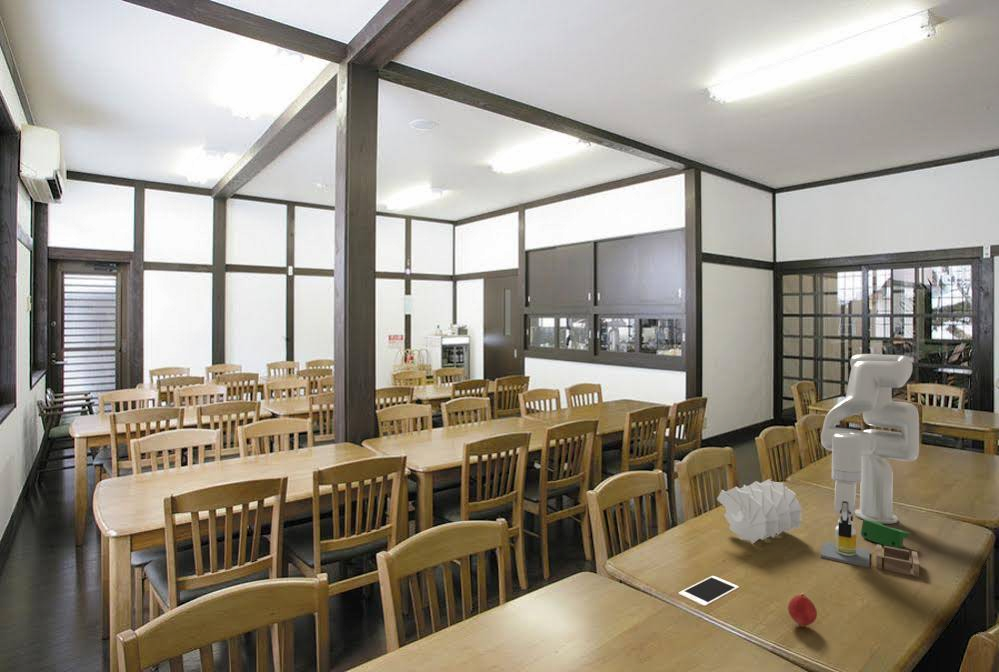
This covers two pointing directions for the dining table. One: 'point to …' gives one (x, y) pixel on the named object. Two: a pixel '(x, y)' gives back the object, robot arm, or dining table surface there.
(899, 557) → the frame
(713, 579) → the cell phone
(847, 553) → the supplement bottle
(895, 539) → the clamp
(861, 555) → the rubber mat
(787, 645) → the dining table surface
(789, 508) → the white origami shape
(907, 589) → the dining table surface
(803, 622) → the onion
